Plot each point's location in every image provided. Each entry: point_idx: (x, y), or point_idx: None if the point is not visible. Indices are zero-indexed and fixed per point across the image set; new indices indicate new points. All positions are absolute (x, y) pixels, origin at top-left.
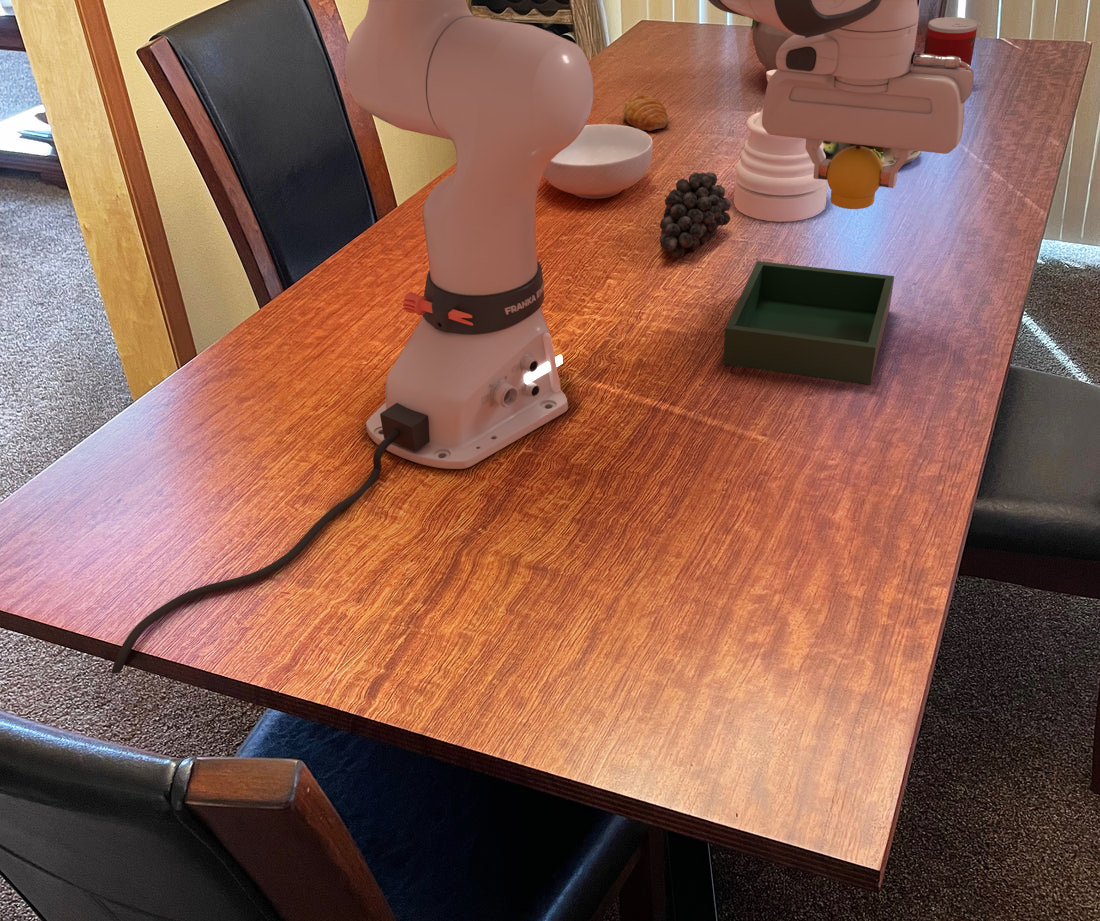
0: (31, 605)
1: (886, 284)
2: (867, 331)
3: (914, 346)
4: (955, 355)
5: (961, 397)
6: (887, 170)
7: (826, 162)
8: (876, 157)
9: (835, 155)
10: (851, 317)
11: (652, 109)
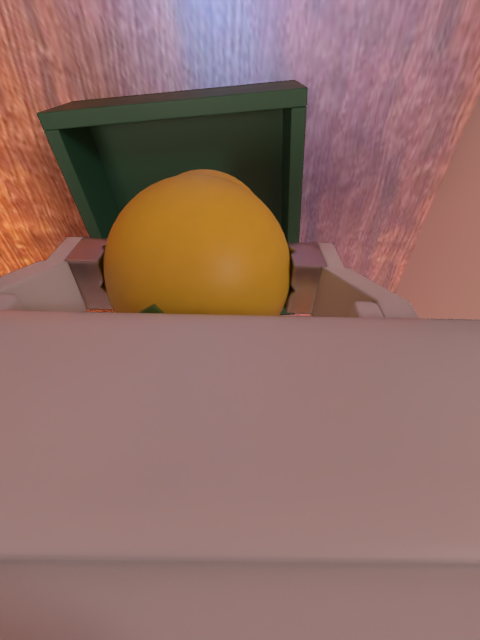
0: None
1: (295, 136)
2: (270, 171)
3: (335, 169)
4: (388, 176)
5: (379, 264)
6: (307, 298)
7: (93, 287)
8: (266, 313)
9: (114, 307)
10: (240, 132)
11: None
